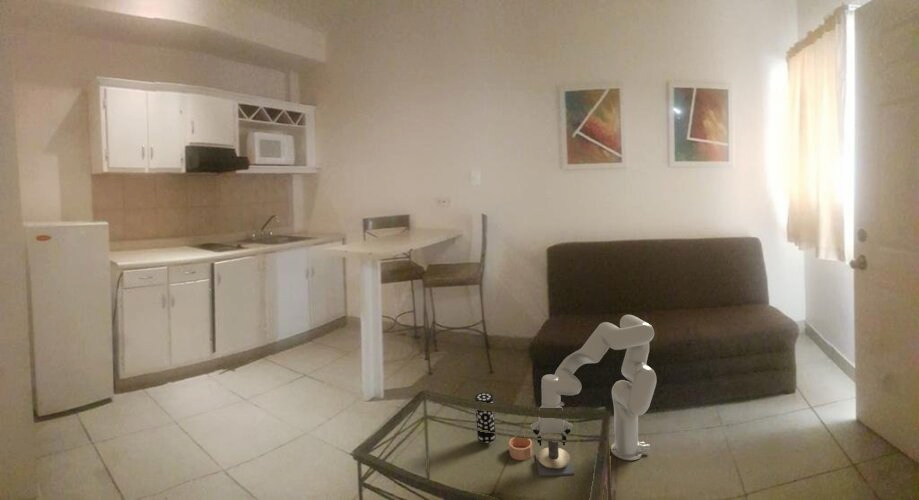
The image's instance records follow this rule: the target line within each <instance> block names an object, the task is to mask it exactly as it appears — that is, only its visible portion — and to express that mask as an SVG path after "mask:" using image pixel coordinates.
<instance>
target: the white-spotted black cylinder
mask: <svg viewBox="0 0 919 500" xmlns="http://www.w3.org/2000/svg"><path fill="white" fill-rule="evenodd" d="M475 400H476V401H482V402H487V403H494V395H493V394H492V393H489V392H480V393H477V394H476V395H474V401H475ZM475 419H476V421H475V422H476V432H477V433H476V435H477V440H478V441H479V442H481V443H485V444H487V443H492V442H494V441H496V438H497V437H496V436H497V435H496V434H497V433H496V421H495V420H496V419H495V411H494V412H491V411H481V410H476V409H475ZM477 429H481V430H486V431H490V432H495V433H496V434H494V433H488V432H480V431H477Z"/></svg>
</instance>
